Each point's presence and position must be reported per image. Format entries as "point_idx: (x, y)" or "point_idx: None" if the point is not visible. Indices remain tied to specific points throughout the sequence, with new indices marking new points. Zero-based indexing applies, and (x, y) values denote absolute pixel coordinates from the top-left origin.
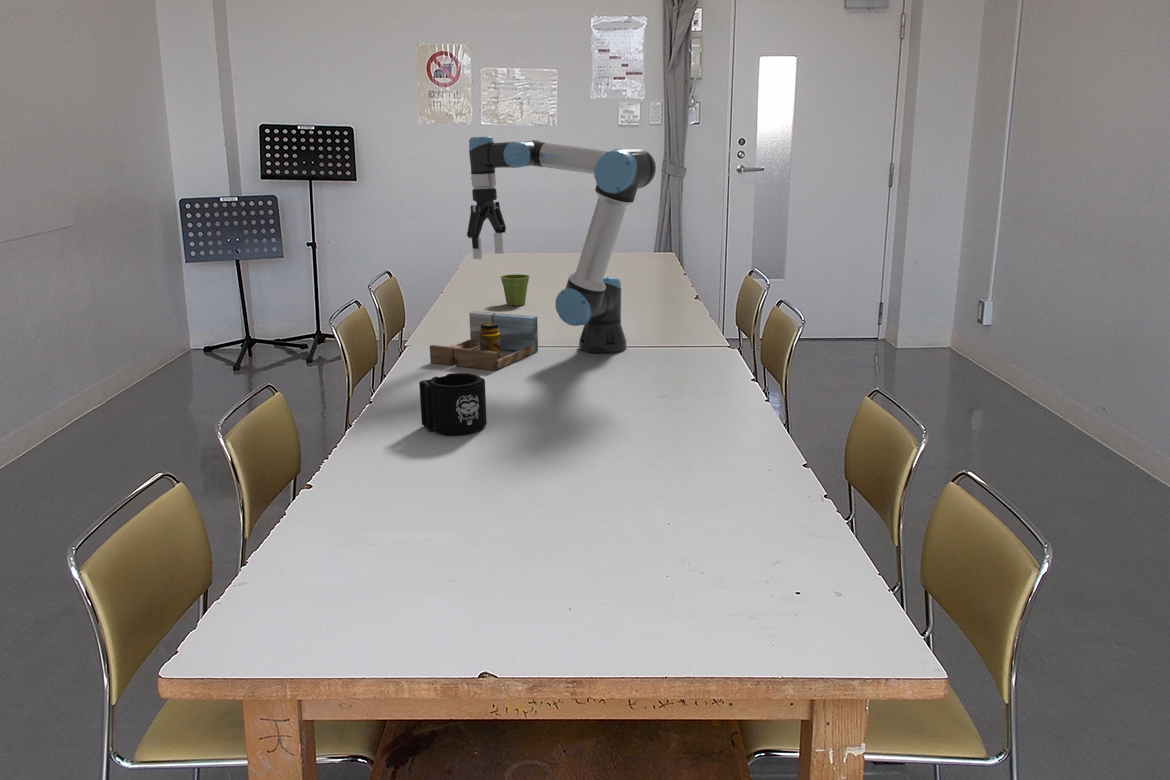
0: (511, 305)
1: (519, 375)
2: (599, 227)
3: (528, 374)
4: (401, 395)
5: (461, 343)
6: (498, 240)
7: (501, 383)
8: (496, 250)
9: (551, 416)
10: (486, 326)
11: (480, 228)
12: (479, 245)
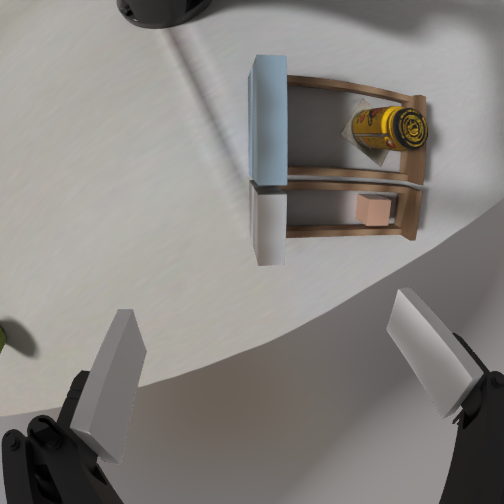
0: (4, 333)
1: (411, 56)
2: None
3: (401, 44)
4: (501, 178)
5: (316, 232)
6: (116, 397)
7: (448, 73)
8: (139, 356)
9: (487, 12)
10: (427, 128)
11: (496, 439)
12: (453, 341)
